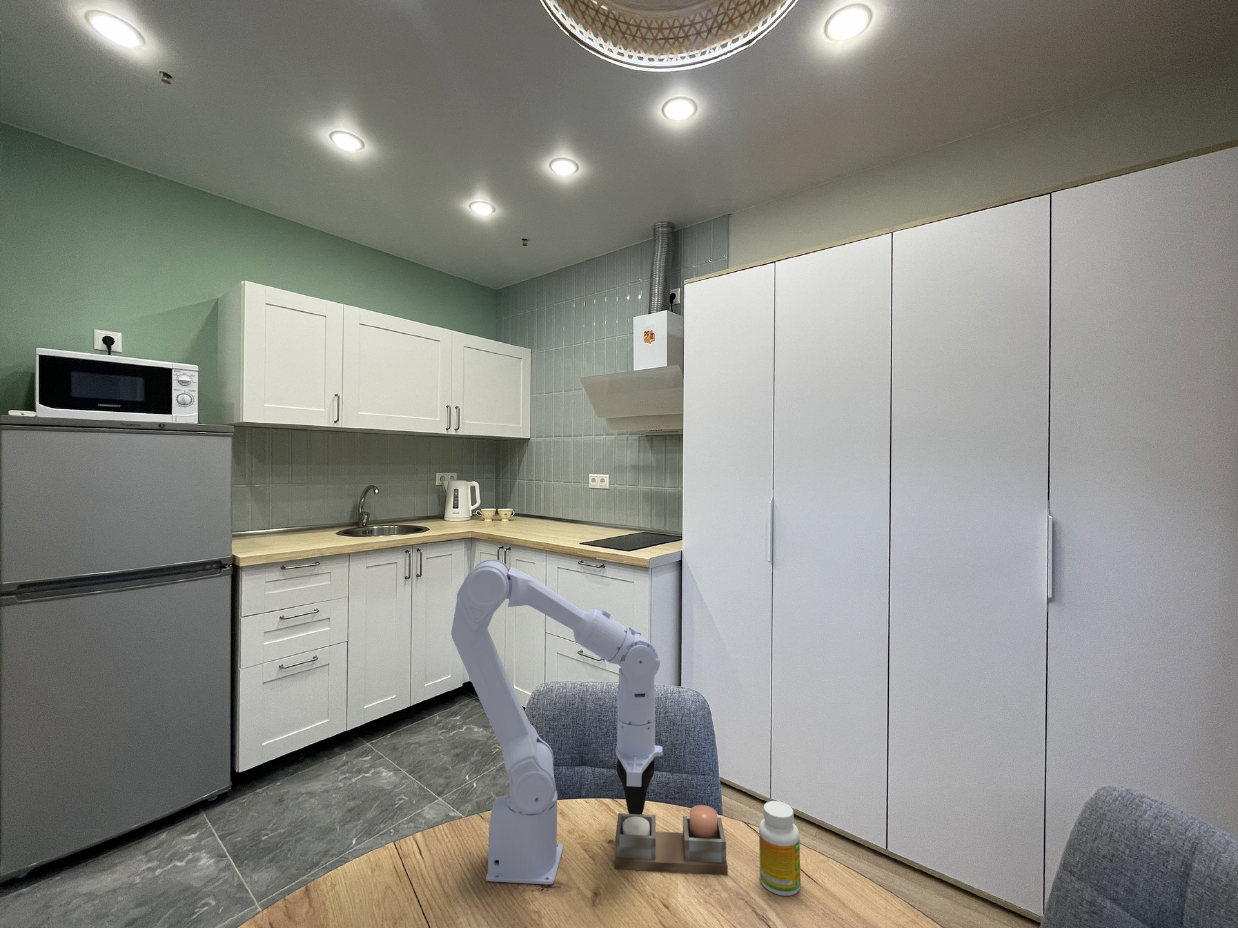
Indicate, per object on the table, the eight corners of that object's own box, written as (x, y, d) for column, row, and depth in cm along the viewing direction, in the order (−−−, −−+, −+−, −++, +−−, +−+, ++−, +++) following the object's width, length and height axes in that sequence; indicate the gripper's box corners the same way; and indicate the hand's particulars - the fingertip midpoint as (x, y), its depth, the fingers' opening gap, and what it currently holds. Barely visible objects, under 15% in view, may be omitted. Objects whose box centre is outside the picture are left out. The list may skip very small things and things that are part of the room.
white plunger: (621, 849, 75) (622, 832, 76) (623, 832, 79) (623, 816, 80) (649, 851, 75) (649, 833, 75) (649, 833, 79) (649, 817, 79)
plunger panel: (614, 869, 74) (614, 839, 74) (617, 837, 81) (617, 810, 81) (727, 874, 73) (727, 844, 73) (721, 842, 80) (721, 815, 80)
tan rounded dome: (690, 837, 75) (690, 820, 75) (689, 821, 79) (688, 804, 79) (718, 839, 75) (718, 821, 75) (715, 822, 79) (715, 805, 79)
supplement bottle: (803, 900, 68) (801, 822, 69) (761, 894, 69) (759, 817, 70) (797, 872, 73) (796, 800, 74) (758, 866, 74) (757, 795, 75)
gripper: (663, 740, 71) (663, 844, 70) (661, 700, 86) (661, 786, 85) (612, 737, 72) (611, 841, 71) (619, 699, 86) (618, 784, 85)
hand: (635, 811), depth 78 cm, fingers closed
